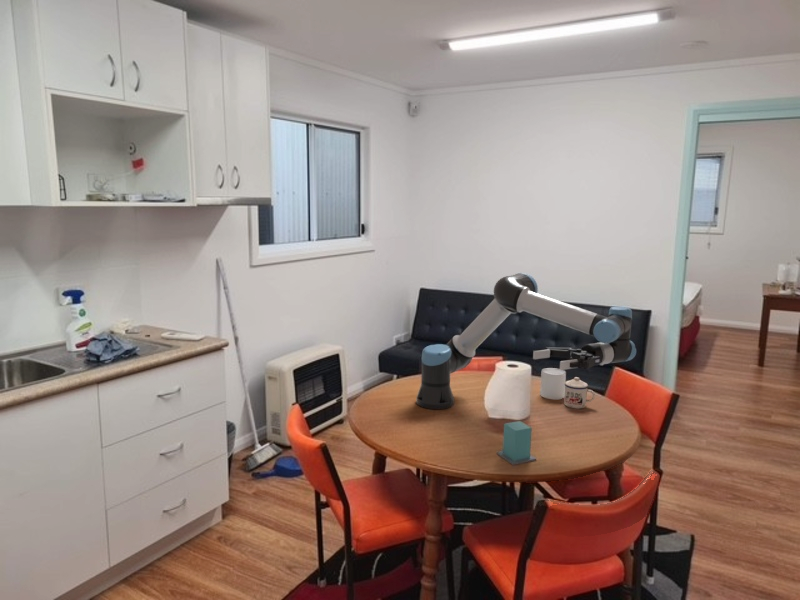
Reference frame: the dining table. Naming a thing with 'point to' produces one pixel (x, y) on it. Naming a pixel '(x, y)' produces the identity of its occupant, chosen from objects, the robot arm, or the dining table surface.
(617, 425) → the dining table surface
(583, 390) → the teacup with lid
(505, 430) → the teal rectangular prism
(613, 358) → the robot arm
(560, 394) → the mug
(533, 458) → the post
